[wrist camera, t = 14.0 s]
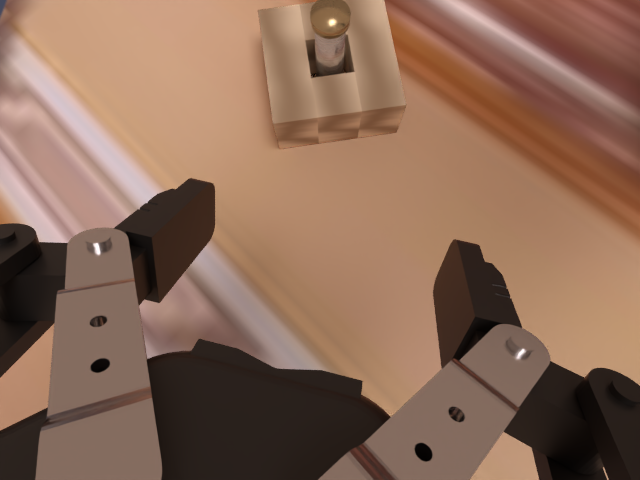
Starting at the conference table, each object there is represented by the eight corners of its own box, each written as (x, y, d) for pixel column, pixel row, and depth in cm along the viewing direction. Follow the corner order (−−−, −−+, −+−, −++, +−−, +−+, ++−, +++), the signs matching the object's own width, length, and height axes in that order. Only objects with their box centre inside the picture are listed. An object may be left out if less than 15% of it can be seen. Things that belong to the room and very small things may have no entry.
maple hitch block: (375, 32, 40) (382, -8, 35) (396, 132, 38) (406, 104, 33) (266, 47, 40) (257, 9, 35) (279, 149, 38) (272, 123, 33)
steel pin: (341, 74, 39) (347, -6, 30) (346, 101, 39) (353, 28, 29) (312, 78, 39) (307, -1, 30) (316, 105, 39) (313, 33, 29)
